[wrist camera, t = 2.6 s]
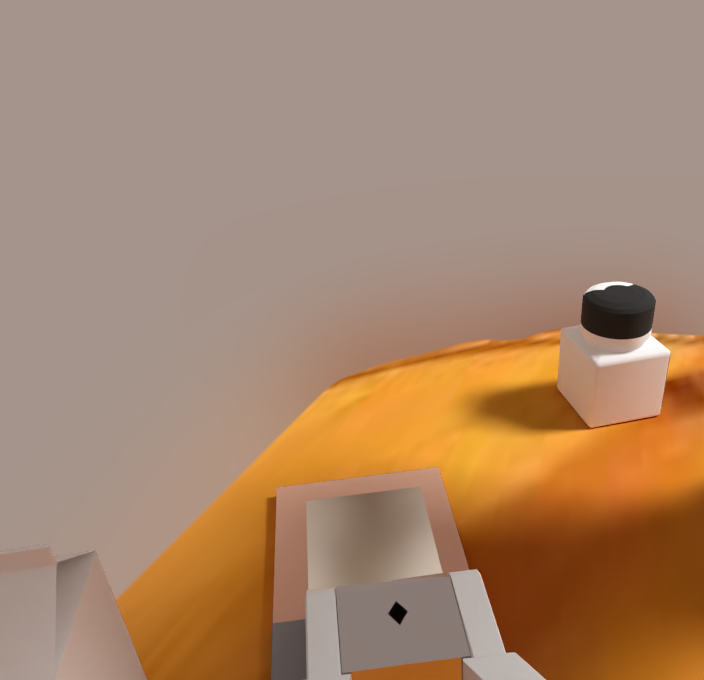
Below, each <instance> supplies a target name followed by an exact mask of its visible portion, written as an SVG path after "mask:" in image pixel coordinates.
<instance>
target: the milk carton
mask: <svg viewBox="0 0 704 680" xmlns="http://www.w3.org/2000/svg"><path fill="white" fill-rule="evenodd" d="M0 680H147V678H146V675H145V673H144V670H143V668H142V665H141V663H140V660H139V658H138V655H137V653H136V650H135V648H134V645H133V643H132V640H131V638H130V635H129V633H128V630H127V628H126V625H125V623H124V620H123V618H122V615H121V613H120V610H119V608H118V605H117V603H116V600H115V598H114V595H113V593H112V590H111V588H110V585H109V583H108V580H107V578H106V575H105V573H104V571H103V568H102V565H101V563H100V560H99V558H98V555H97V553H96V550H92V551H85V552H78V553H71V554H64V555H57V556H55V555H54V553H53V551H52V548H51V546H50V545H49V544H42V545H36V546H28V547H21V548H14V549H8V550H1V551H0Z"/></svg>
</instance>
